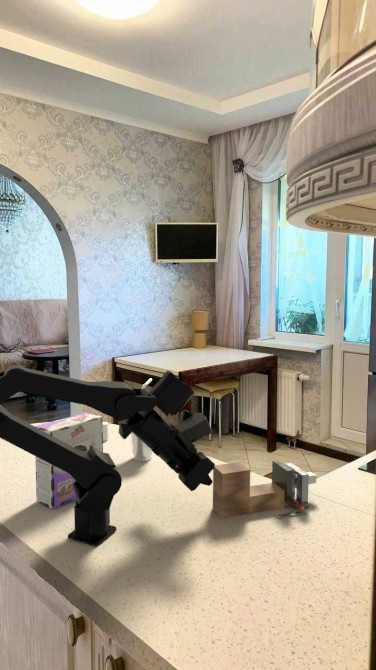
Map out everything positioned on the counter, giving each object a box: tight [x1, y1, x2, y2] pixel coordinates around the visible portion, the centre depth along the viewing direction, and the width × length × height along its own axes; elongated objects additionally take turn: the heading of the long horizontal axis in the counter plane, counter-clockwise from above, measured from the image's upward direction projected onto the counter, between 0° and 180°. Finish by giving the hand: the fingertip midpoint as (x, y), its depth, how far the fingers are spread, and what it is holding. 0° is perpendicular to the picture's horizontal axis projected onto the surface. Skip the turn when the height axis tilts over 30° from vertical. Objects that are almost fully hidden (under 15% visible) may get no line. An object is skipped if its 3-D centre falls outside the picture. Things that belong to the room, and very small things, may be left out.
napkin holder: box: [102, 421, 109, 442], centre depth 144 cm, size 15×11×6 cm
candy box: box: [34, 412, 104, 510], centre depth 107 cm, size 14×6×16 cm, turn 141°
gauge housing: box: [275, 462, 310, 520], centre depth 103 cm, size 8×10×7 cm
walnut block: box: [212, 461, 286, 519], centre depth 102 cm, size 14×4×9 cm, turn 110°
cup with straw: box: [130, 378, 153, 462], centre depth 129 cm, size 8×9×20 cm
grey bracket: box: [271, 459, 317, 511], centre depth 104 cm, size 8×10×7 cm
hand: (210, 483), depth 99 cm, fingers closed
